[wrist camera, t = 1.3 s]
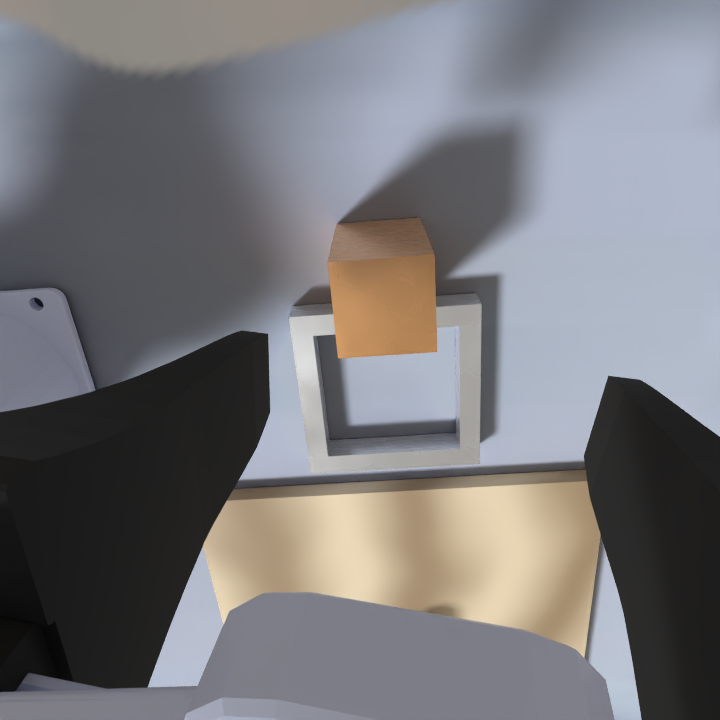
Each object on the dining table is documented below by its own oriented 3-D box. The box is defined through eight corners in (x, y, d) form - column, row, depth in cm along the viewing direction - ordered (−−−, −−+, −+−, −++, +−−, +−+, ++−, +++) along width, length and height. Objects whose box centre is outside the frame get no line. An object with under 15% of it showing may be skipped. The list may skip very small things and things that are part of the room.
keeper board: (247, 691, 32) (232, 767, 28) (196, 490, 26) (169, 554, 22) (574, 679, 31) (601, 755, 27) (601, 468, 25) (639, 531, 21)
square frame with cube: (282, 227, 21) (257, 267, 16) (476, 213, 20) (507, 248, 16) (313, 456, 25) (301, 538, 20) (474, 447, 25) (498, 528, 20)
